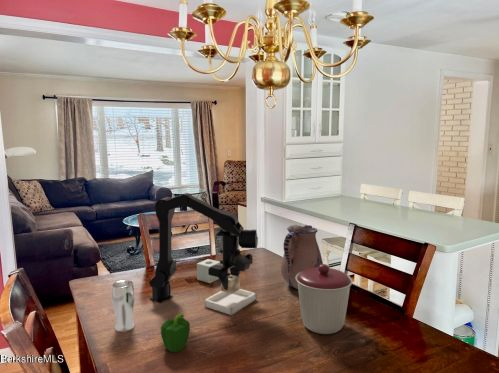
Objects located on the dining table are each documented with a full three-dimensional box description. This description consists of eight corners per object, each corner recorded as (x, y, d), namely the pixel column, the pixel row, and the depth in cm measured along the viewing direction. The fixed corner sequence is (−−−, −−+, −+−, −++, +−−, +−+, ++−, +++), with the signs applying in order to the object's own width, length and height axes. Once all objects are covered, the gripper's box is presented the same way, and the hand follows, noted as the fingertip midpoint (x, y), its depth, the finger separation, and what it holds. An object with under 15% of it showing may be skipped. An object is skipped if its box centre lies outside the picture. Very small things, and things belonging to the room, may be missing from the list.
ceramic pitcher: (328, 282, 157) (329, 225, 154) (310, 301, 139) (311, 237, 136) (291, 275, 166) (291, 221, 163) (269, 291, 148) (269, 231, 145)
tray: (231, 315, 128) (231, 308, 128) (204, 306, 135) (204, 299, 135) (256, 299, 141) (255, 293, 140) (230, 291, 148) (230, 286, 148)
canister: (287, 333, 115) (288, 269, 113) (303, 309, 132) (304, 253, 129) (346, 346, 108) (347, 278, 105) (355, 319, 124) (356, 259, 122)
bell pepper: (161, 357, 103) (160, 324, 102) (161, 342, 111) (160, 311, 110) (191, 353, 105) (190, 320, 104) (189, 338, 113) (188, 308, 112)
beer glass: (113, 324, 123) (111, 281, 121) (135, 320, 125) (133, 278, 123) (113, 334, 116) (111, 289, 114) (136, 330, 118) (134, 286, 117)
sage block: (210, 283, 157) (209, 266, 156) (197, 279, 161) (196, 263, 161) (221, 278, 163) (220, 261, 162) (208, 274, 168) (208, 258, 167)
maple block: (231, 293, 134) (231, 280, 133) (221, 290, 137) (220, 277, 136) (239, 289, 138) (239, 276, 137) (229, 286, 141) (229, 273, 140)
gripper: (231, 257, 123) (232, 301, 125) (261, 244, 138) (261, 284, 140) (206, 252, 129) (207, 294, 131) (238, 240, 145) (238, 277, 147)
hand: (230, 287), depth 137 cm, fingers closed on maple block, 5 cm apart
